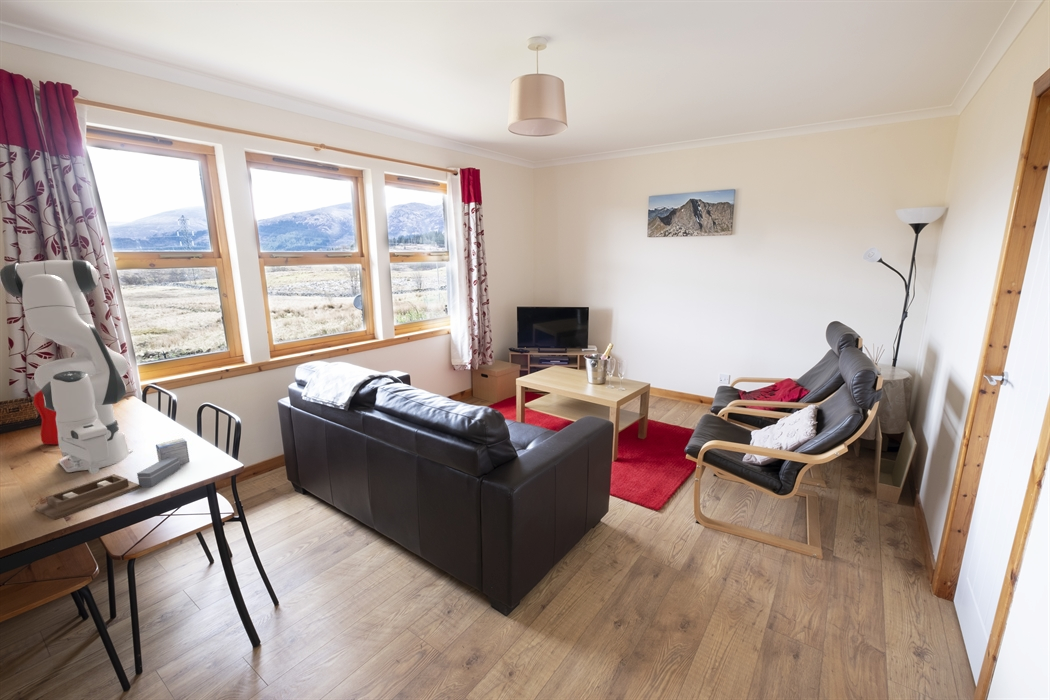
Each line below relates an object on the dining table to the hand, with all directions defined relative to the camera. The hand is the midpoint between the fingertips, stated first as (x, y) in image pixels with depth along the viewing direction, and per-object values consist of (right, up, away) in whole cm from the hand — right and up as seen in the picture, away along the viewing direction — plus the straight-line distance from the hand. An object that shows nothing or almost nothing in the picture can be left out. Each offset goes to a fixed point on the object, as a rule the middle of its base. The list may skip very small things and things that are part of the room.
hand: (86, 469), depth 136 cm
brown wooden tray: (0, -9, +1) cm, 9 cm away
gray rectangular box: (+12, -7, +13) cm, 19 cm away
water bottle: (-55, -1, +47) cm, 72 cm away
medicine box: (+9, -5, +23) cm, 25 cm away
